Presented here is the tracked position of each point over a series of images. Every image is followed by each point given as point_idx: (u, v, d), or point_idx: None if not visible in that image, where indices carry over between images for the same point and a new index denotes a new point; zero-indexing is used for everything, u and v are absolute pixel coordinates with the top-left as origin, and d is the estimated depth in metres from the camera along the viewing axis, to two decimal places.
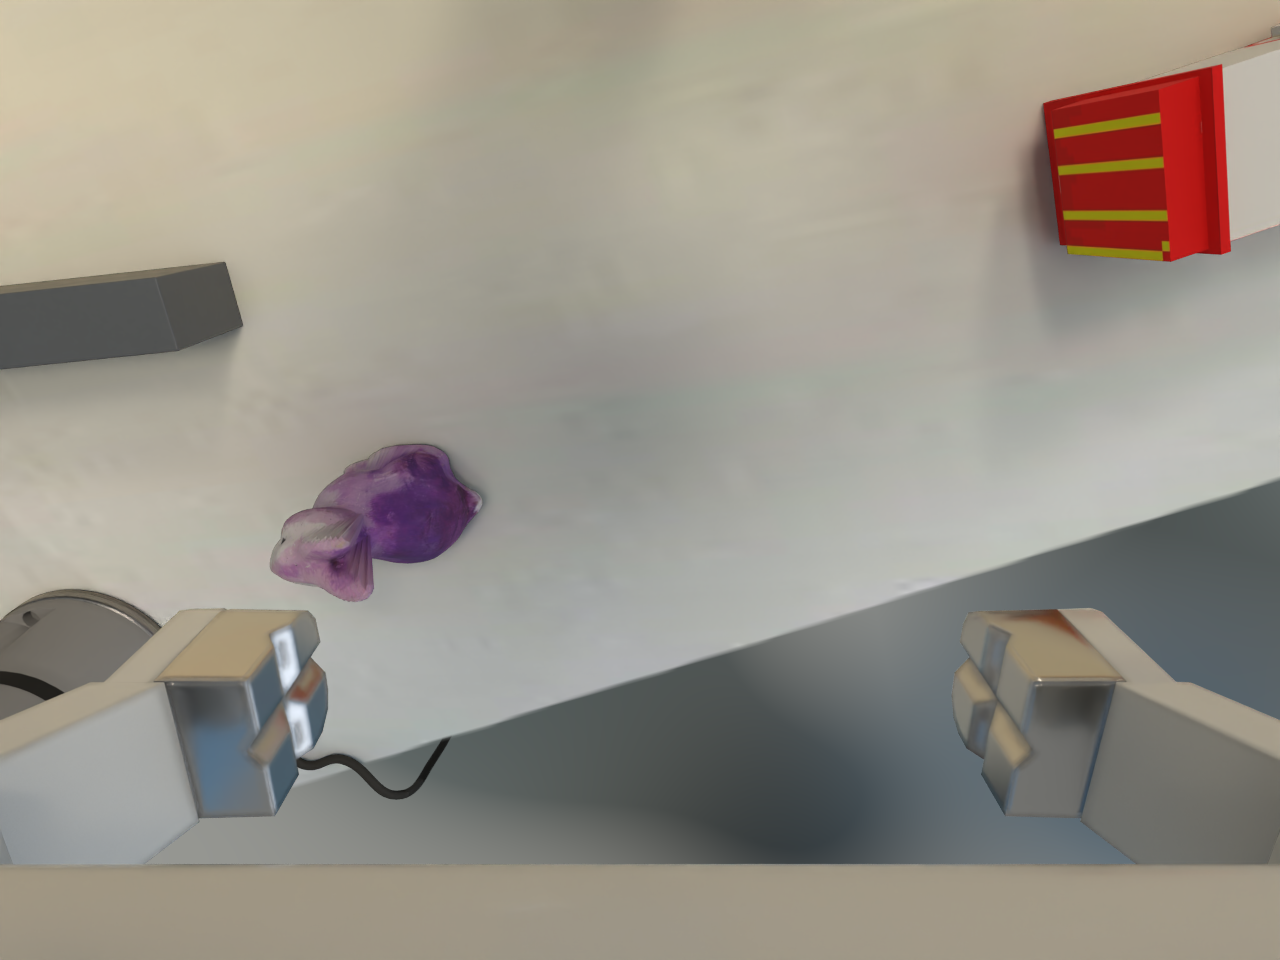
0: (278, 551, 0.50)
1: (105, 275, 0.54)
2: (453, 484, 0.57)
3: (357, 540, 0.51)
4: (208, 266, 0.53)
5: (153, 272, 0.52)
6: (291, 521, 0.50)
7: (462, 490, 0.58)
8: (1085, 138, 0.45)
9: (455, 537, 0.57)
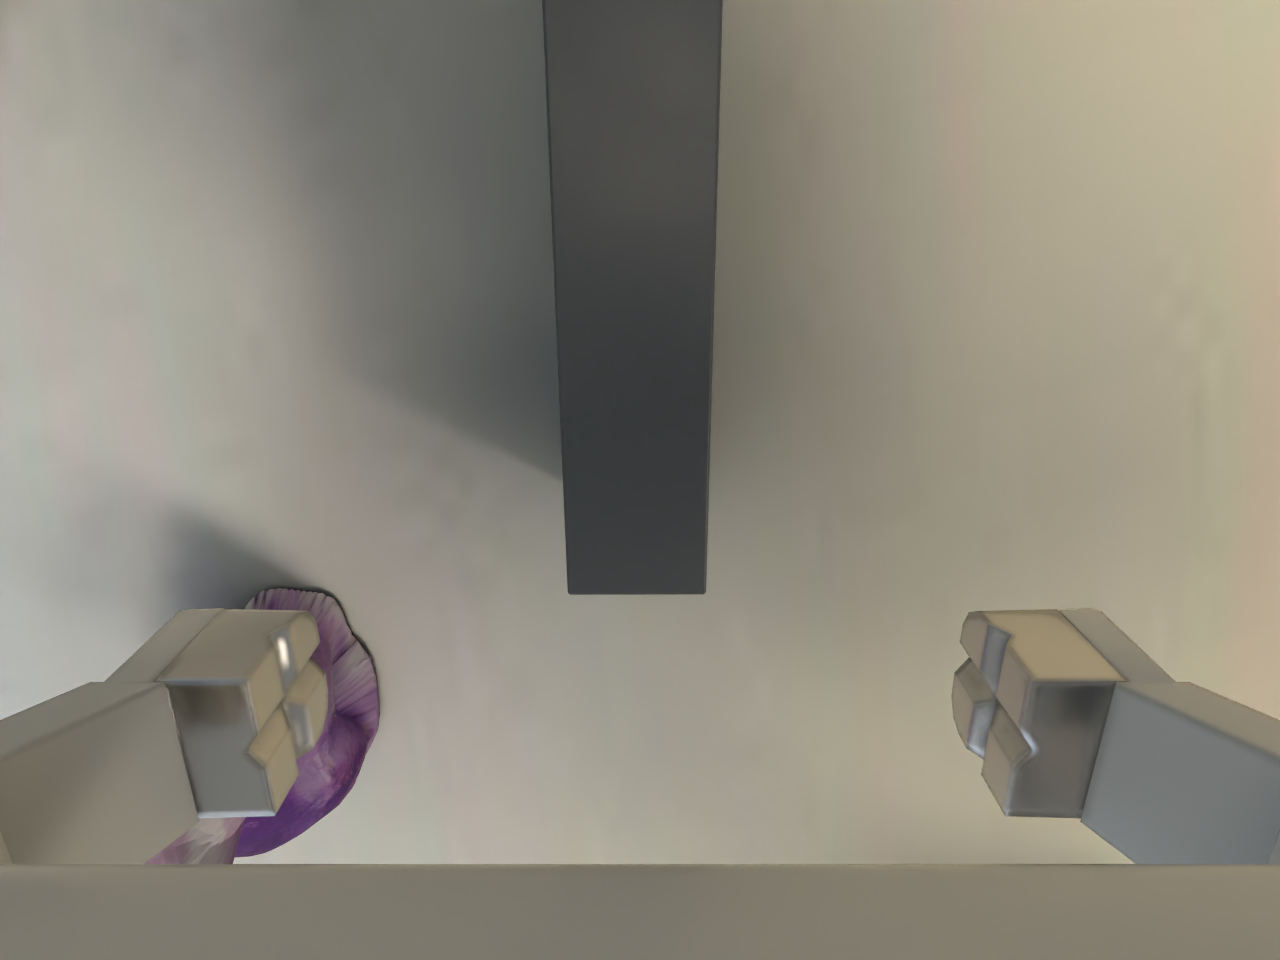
0: None
1: None
2: None
3: None
4: None
5: None
6: None
7: None
8: None
9: None
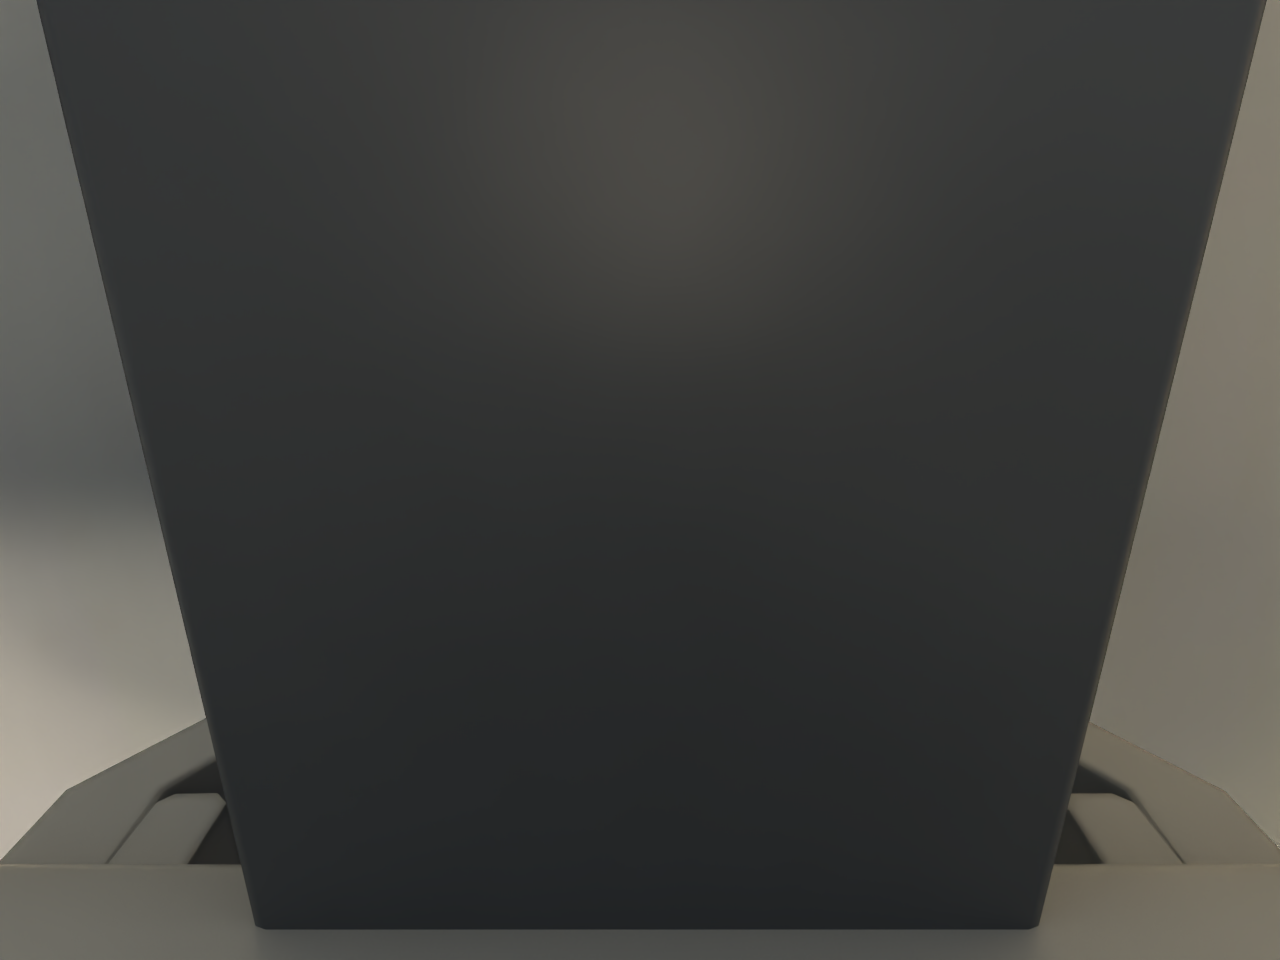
0: None
1: None
2: None
3: None
4: None
5: None
6: None
7: None
8: None
9: None
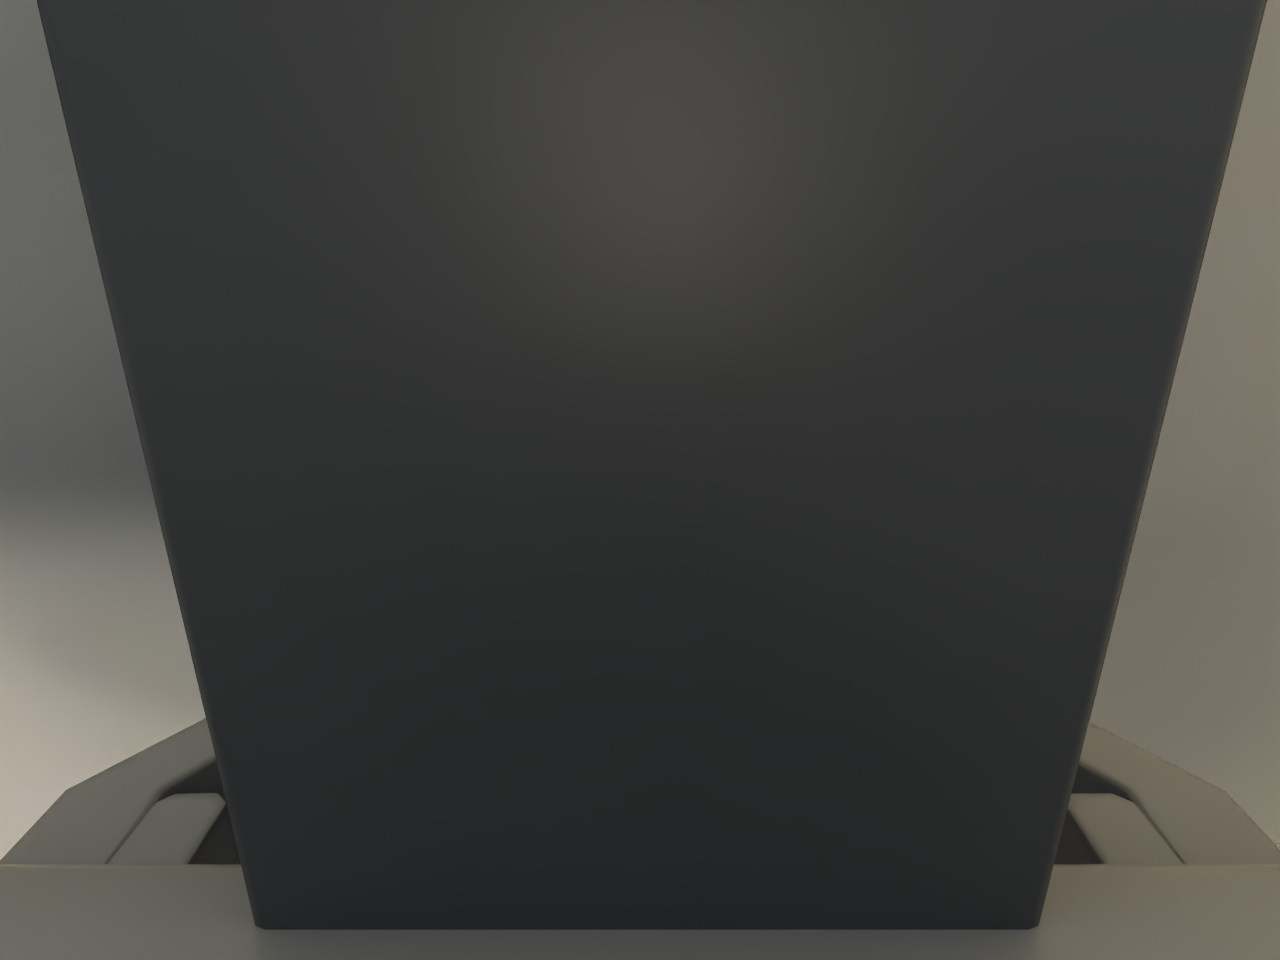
0: None
1: None
2: None
3: None
4: None
5: None
6: None
7: None
8: None
9: None
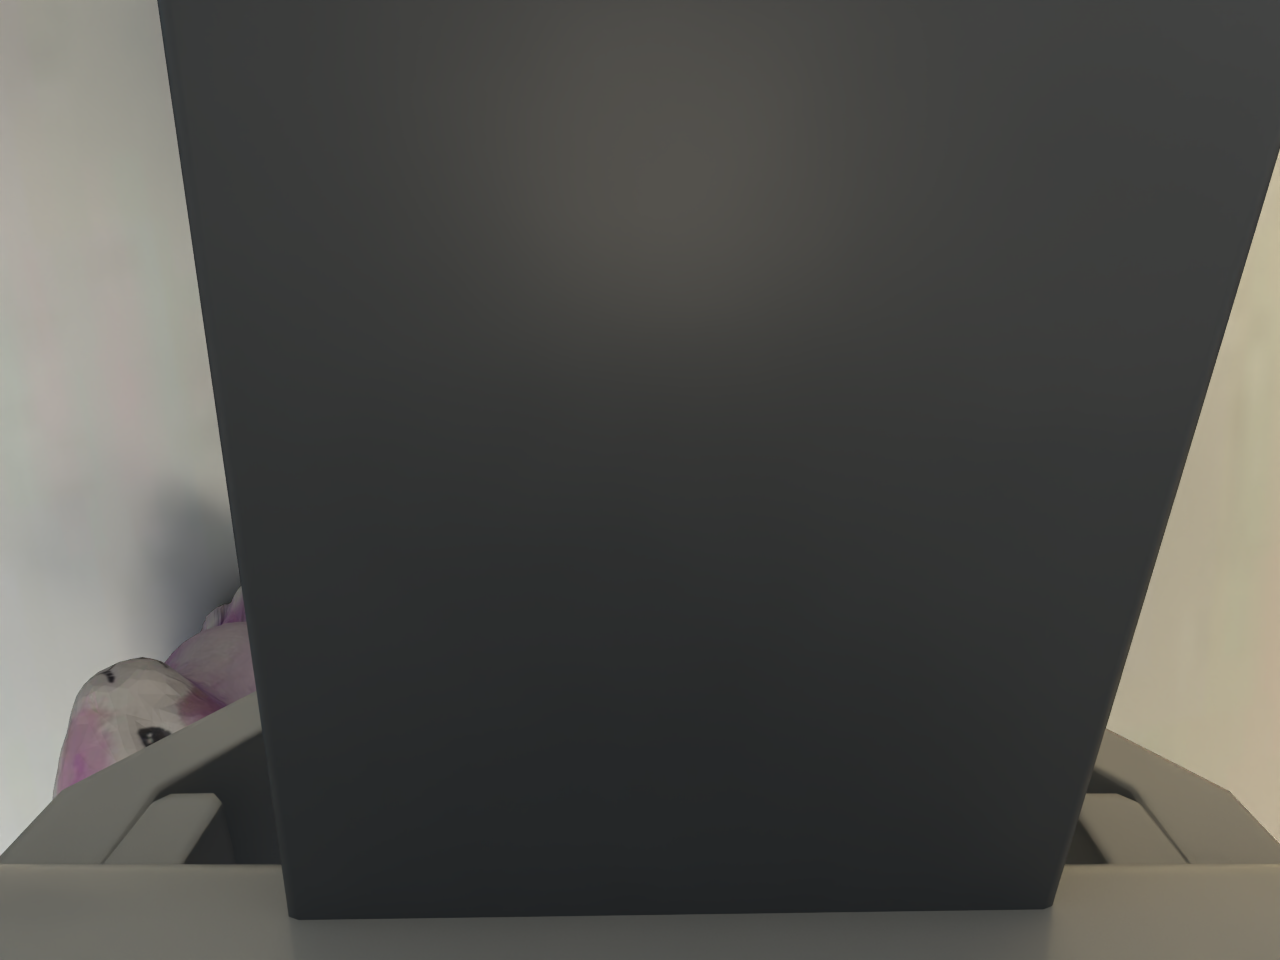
0: None
1: None
2: None
3: None
4: None
5: None
6: None
7: None
8: None
9: None
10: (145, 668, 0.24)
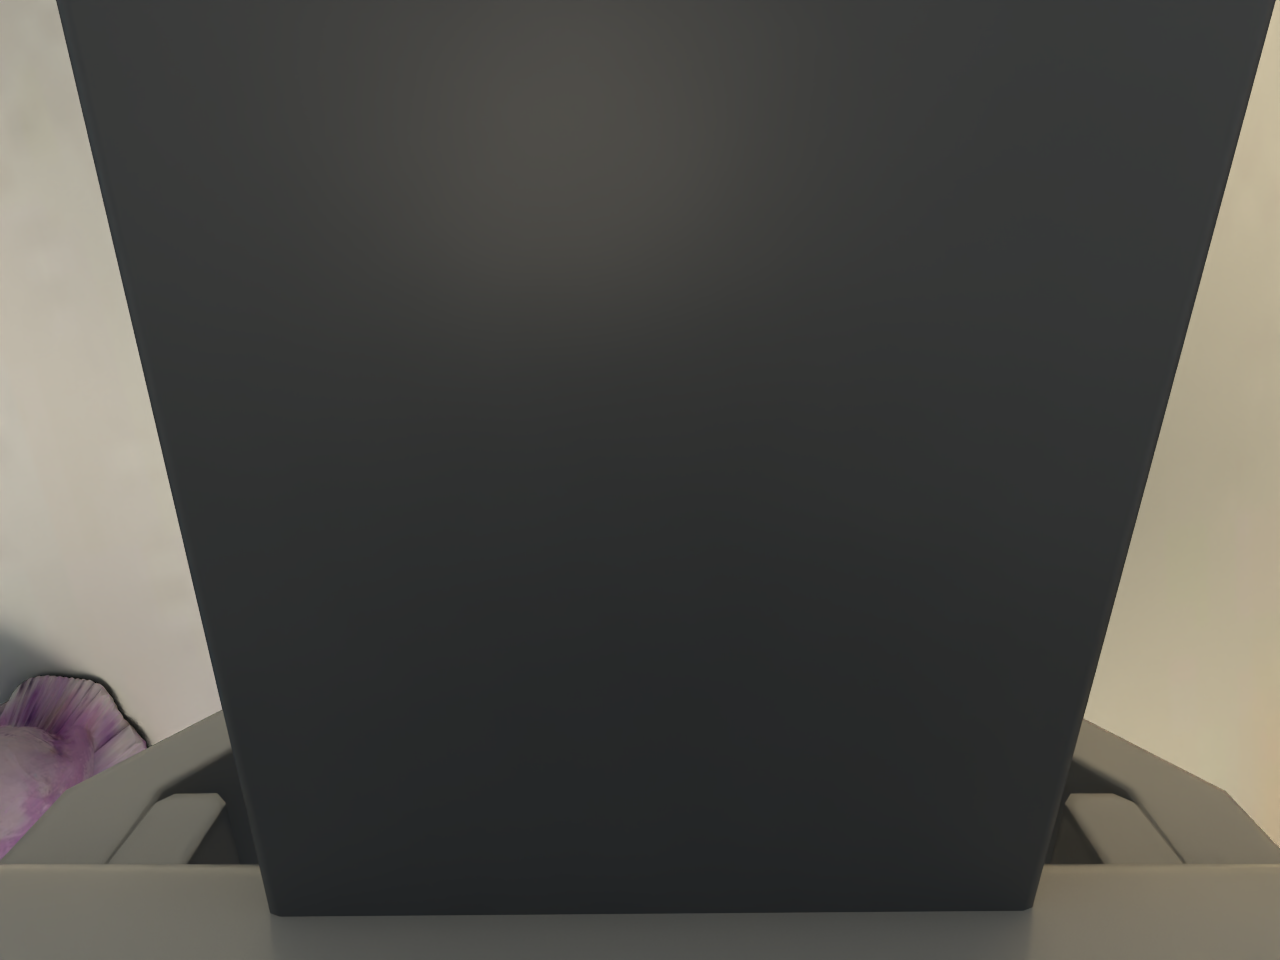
0: None
1: None
2: None
3: None
4: None
5: None
6: None
7: None
8: None
9: None
10: None
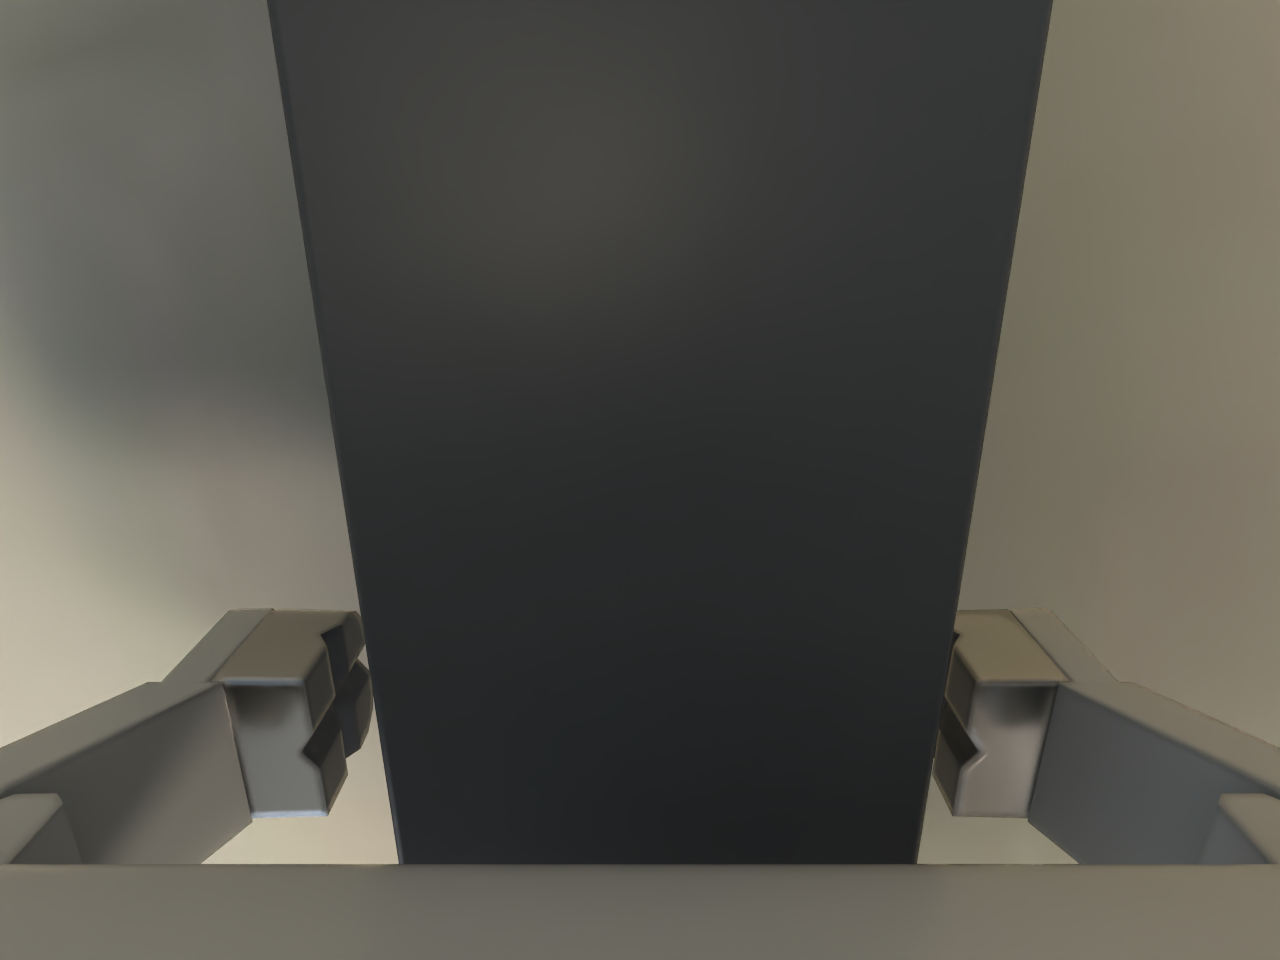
0: None
1: None
2: None
3: None
4: None
5: None
6: None
7: None
8: None
9: None
10: None
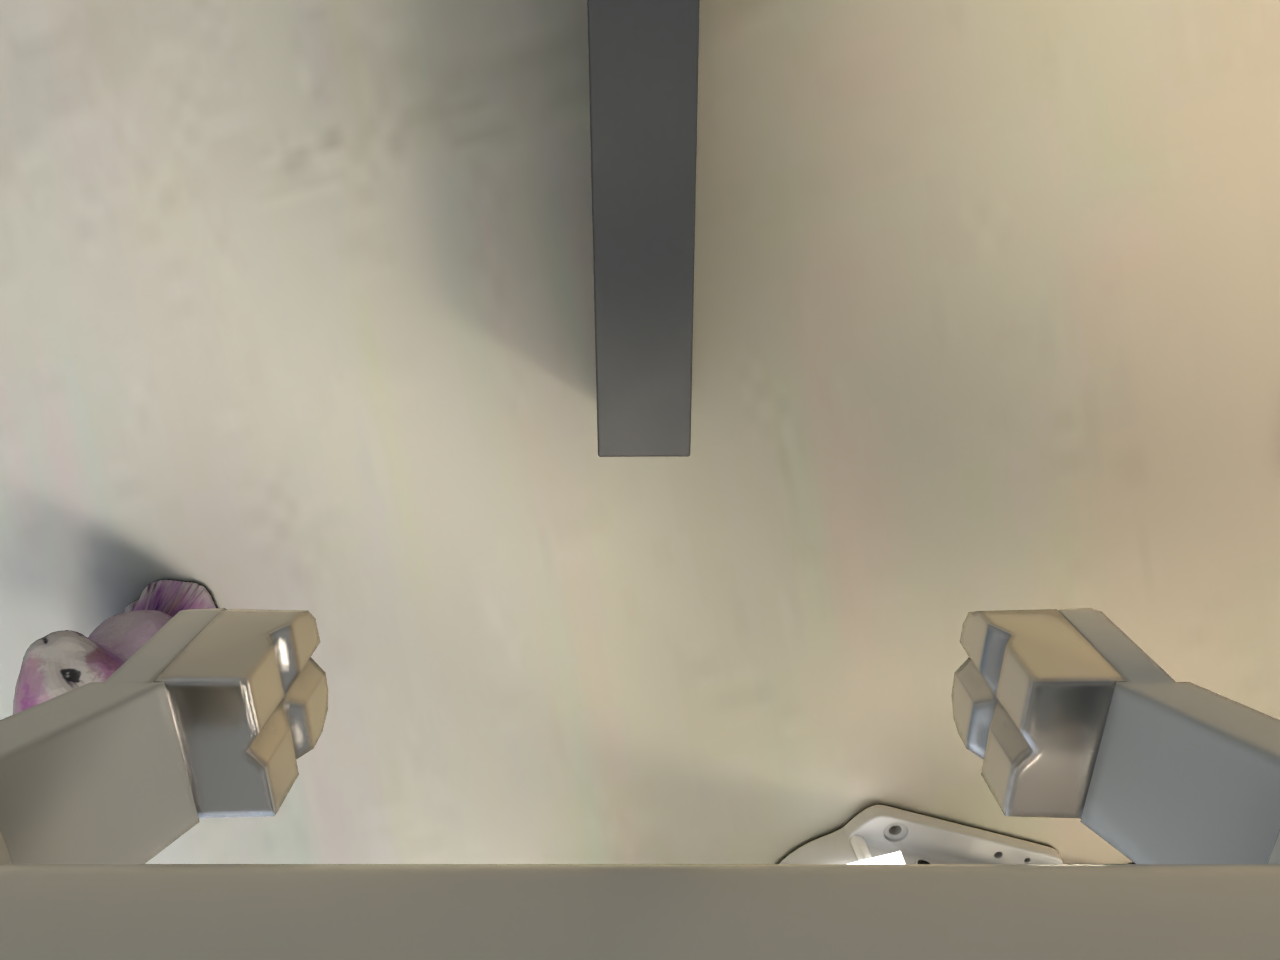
0: (57, 691, 0.39)
1: None
2: None
3: None
4: None
5: None
6: None
7: None
8: None
9: None
10: (66, 635, 0.41)
